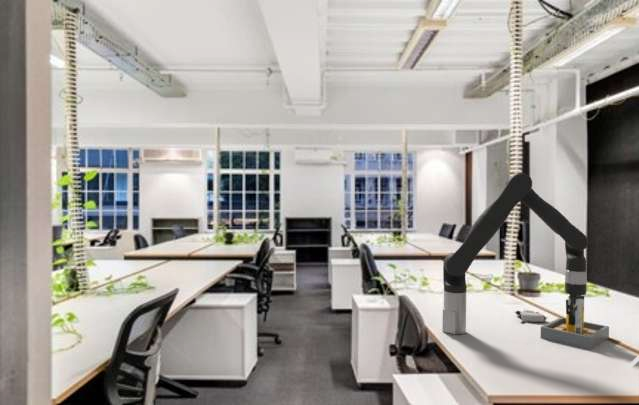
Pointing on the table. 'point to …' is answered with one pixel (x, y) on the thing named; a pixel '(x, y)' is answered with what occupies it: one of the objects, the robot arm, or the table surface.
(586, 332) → the plate
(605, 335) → the open-top box
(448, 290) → the robot arm
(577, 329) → the beer can
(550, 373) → the table surface
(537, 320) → the robot toy
